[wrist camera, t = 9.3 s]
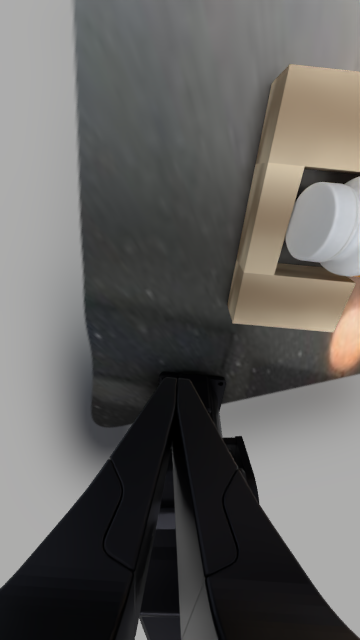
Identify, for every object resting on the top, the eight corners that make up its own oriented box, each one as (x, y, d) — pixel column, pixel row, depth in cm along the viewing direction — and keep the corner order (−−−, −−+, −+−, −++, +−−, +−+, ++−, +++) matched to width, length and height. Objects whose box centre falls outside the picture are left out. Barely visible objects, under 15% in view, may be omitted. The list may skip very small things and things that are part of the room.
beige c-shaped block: (315, 312, 22) (333, 332, 19) (227, 304, 22) (232, 323, 19) (402, 97, 15) (448, 81, 12) (271, 83, 15) (289, 64, 12)
